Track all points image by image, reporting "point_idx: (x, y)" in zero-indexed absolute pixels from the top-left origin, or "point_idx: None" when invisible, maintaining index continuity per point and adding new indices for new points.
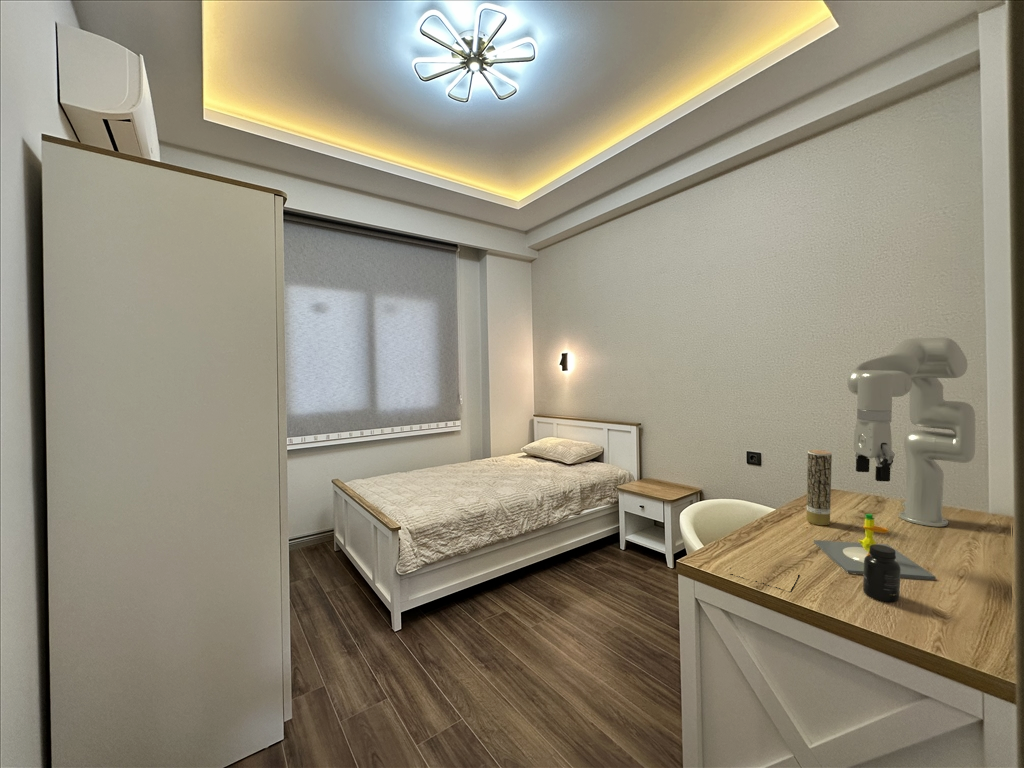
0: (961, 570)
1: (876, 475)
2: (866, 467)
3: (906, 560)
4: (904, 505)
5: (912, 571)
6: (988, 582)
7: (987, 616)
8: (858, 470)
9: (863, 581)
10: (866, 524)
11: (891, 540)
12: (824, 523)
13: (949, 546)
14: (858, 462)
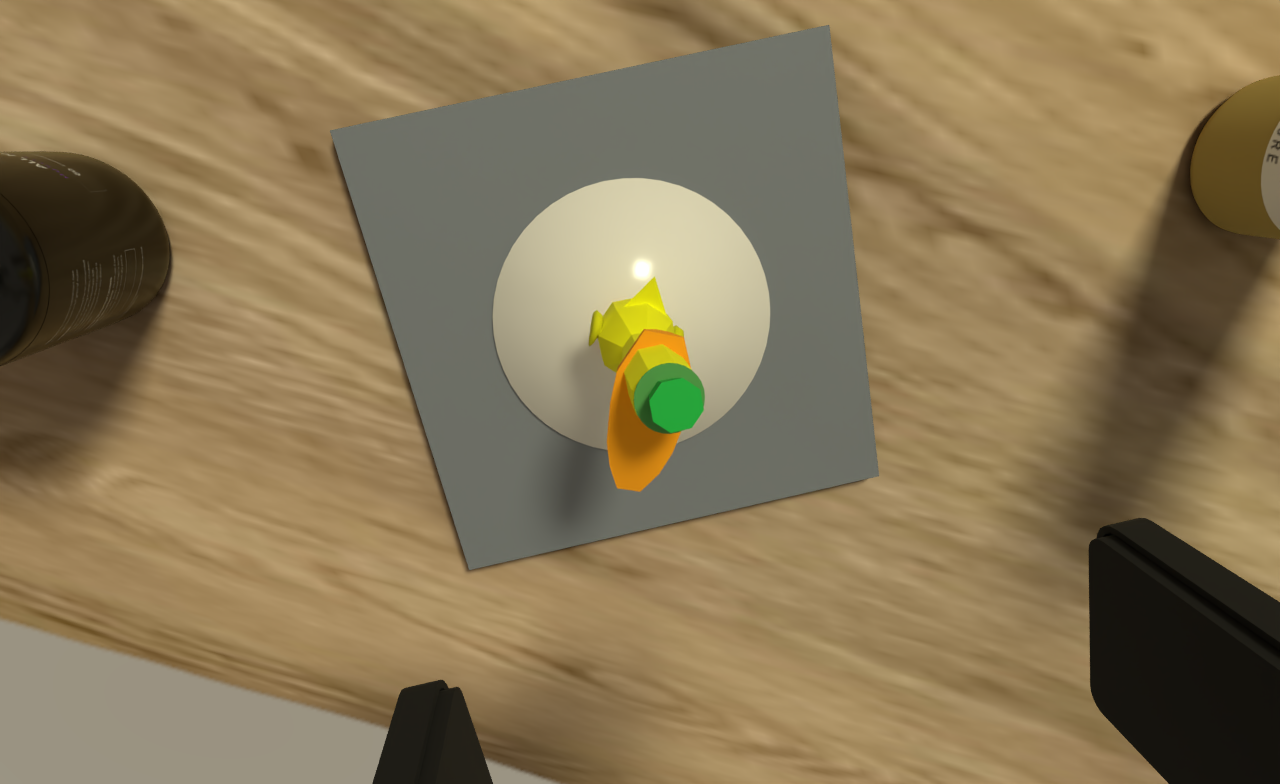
0: (661, 696)
1: (381, 761)
2: (1153, 727)
3: (649, 501)
4: None
5: (490, 486)
6: (554, 748)
7: (138, 633)
8: (1104, 557)
9: (31, 152)
10: (640, 356)
11: (997, 515)
12: (1199, 186)
13: (974, 739)
14: (1259, 668)
